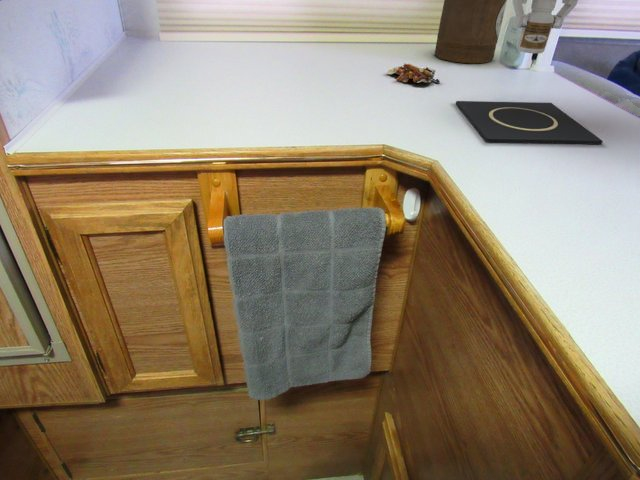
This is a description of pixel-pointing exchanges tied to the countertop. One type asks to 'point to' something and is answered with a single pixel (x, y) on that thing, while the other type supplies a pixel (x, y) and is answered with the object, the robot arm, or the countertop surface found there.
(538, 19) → the pill bottle
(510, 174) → the countertop surface
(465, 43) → the wooden container
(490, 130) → the mat
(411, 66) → the reddish brown crumpled piece
